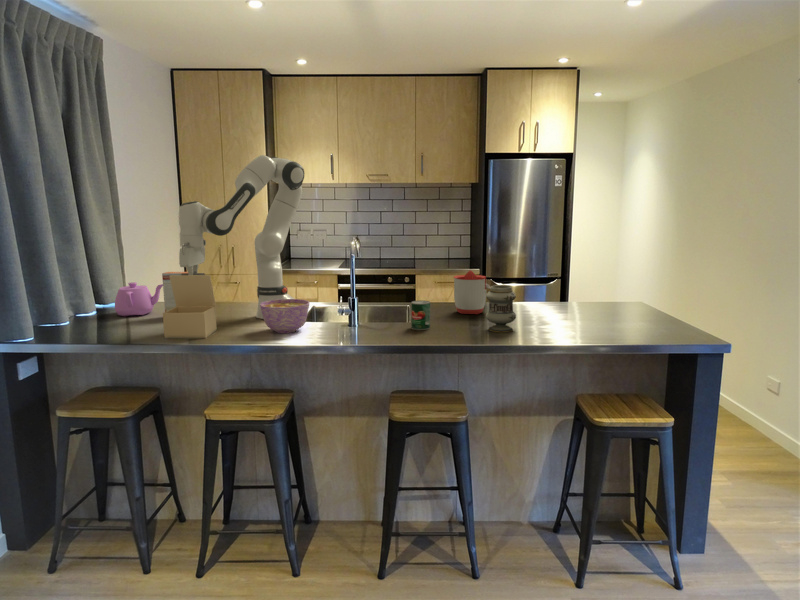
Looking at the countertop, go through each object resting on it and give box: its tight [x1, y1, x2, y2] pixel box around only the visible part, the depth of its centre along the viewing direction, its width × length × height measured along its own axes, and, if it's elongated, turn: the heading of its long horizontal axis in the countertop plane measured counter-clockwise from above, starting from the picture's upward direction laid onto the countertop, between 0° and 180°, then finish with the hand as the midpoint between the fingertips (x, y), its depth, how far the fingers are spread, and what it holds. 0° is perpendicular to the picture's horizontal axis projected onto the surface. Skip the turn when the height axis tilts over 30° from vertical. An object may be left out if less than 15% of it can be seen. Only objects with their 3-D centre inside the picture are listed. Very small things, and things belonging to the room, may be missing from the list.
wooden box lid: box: [170, 272, 217, 307], centre depth 237 cm, size 16×14×5 cm
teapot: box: [114, 282, 163, 317], centre depth 273 cm, size 23×21×15 cm
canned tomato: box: [410, 299, 431, 331], centre depth 241 cm, size 8×8×11 cm
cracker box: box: [161, 271, 200, 313], centre depth 266 cm, size 14×6×21 cm, turn 84°
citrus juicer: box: [453, 270, 491, 315], centre depth 273 cm, size 16×17×20 cm
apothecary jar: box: [485, 284, 517, 333], centre depth 237 cm, size 12×12×18 cm
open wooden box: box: [162, 306, 218, 339], centre depth 232 cm, size 16×14×10 cm
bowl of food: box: [260, 298, 310, 334], centre depth 237 cm, size 20×20×12 cm
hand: (193, 276), depth 236 cm, fingers open, 3 cm apart
